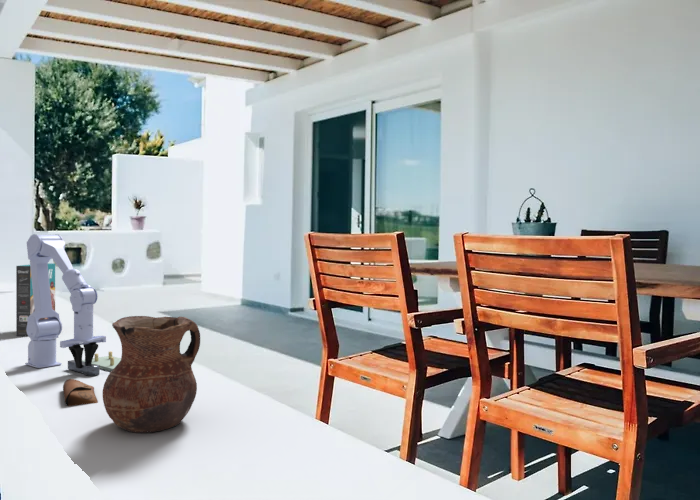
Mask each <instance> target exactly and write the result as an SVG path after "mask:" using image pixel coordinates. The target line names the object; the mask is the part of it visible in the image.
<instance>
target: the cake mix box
mask: <svg viewBox="0 0 700 500" xmlns="http://www.w3.org/2000/svg"><path fill="white" fill-rule="evenodd" d="M15 268H16V273H15V274H16V275H15V276H16V277H15V278H16V279H15V280H16V281H15V282H16V287H15V288H16V289H15V290H16V295H15V296H16V297H15V299H16V300H15V301H16V307H15V310H16V311H15V313H16V316H15V317H16V324H15V326H16V333H15V334H16V335H15V336H16V337H29V336H28V335H27V331H26V328H27V322H28V321H27V318H28V317H29V316H30V315H31V314H32V313H33V312H34V311H35V309H34V299H33V288H32V278H31V268H30V264H21V265H16V267H15ZM48 274H49V283H50V293H51V303H52V309H53V310H54V311H56V263H52V262H51V263H49V262H48ZM43 319H48V318H40V319H39V320H43Z"/></svg>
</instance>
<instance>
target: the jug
mask: <svg viewBox="0 0 700 500" xmlns="http://www.w3.org/2000/svg"><path fill="white" fill-rule="evenodd" d="M111 325H112V327H113V328H112V329H114V330H115V332H116V333H117V336H118V338H119V340H120V343H121V357H120V358H121V361H120V362H119V363H118V365H117V366H116V367H115V368H114V369H113V370H112V371H109V373H108V375H107V376H106V379H105V382H104V384H103V387H102V388H103V389H102V401H103V407H104V409H105V412H106V414H107V415H108V417H109V418H110V419H111V420H112V422H113V423H114V424H115V425H116V426H117V427H120V428H121V429H123V430H126V431H127V432H131V433H144V434H147V433H156V432H160V431H165V430H169V429H171V428H174V427H176V426H178V425H179V424H180V423H181V422H182V421H183V420H184V418H185V417H186V416H187V414H188V413H189V412H190V410H191V408H192V406H193V404H194V401H195V400H196V399H195V398H196V395H197V391H198V384H197V380H196V377H195V375H194V371H193V367H192V365H193V363H194V362H195V359H196V357H197V355H198V353H199V350H200V347H201V332H200V329H199V327H198V325H197V323H196V322H195V321H194V320H193V319H189V318H188V317H185V316H178V317H173V316H160V317H159V316H158V317H155V316H149V315H134V316H133V315H131V316H125V317H122V318H119V319H117V320H116V321H114V322H112V323H111ZM188 331H189V333H190V342H189V345H188V346H187V349H186V350H185V351H184V352H183V353H181V350H180V349H181V342H182V340H183V338H184V336H185V334H186V333H187V332H188Z"/></svg>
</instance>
